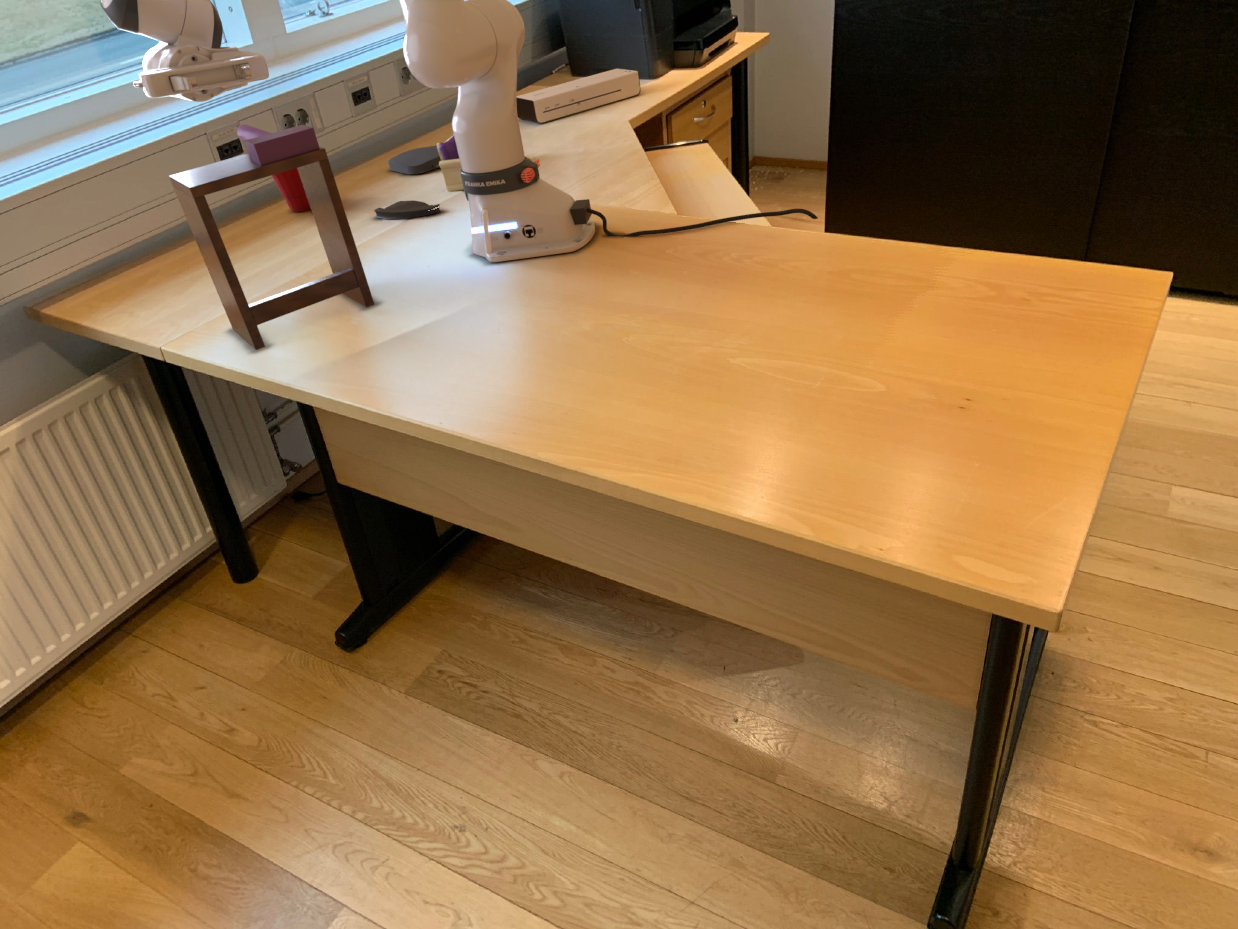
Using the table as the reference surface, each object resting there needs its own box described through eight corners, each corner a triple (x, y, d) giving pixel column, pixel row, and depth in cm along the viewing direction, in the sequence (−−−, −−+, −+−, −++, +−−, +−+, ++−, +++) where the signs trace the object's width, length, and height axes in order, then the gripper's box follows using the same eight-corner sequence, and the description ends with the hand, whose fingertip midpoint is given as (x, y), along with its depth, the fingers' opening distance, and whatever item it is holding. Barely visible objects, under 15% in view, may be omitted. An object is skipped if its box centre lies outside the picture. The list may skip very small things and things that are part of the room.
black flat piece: (420, 222, 179) (418, 214, 178) (374, 218, 186) (372, 210, 185) (448, 208, 184) (446, 200, 183) (402, 204, 191) (400, 197, 190)
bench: (346, 287, 153) (297, 139, 139) (374, 304, 145) (325, 148, 131) (233, 329, 144) (168, 175, 131) (256, 350, 136) (189, 187, 122)
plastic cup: (269, 215, 199) (249, 161, 193) (303, 199, 207) (285, 146, 200) (303, 217, 194) (284, 161, 188) (337, 200, 202) (320, 146, 195)
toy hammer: (220, 148, 142) (213, 129, 140) (274, 133, 146) (268, 114, 144) (261, 165, 127) (253, 144, 126) (319, 148, 131) (313, 127, 130)
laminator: (537, 125, 236) (532, 100, 233) (515, 120, 245) (511, 96, 242) (641, 94, 249) (638, 70, 246) (617, 90, 259) (614, 67, 255)
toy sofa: (482, 189, 192) (471, 141, 187) (445, 192, 194) (433, 144, 189) (510, 161, 209) (501, 115, 203) (476, 164, 211) (466, 119, 205)
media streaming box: (384, 170, 219) (381, 158, 217) (434, 153, 226) (431, 141, 224) (415, 177, 209) (411, 164, 207) (466, 159, 216) (463, 146, 215)
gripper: (122, 63, 146) (148, 67, 137) (243, 44, 157) (274, 47, 148) (137, 104, 150) (163, 110, 140) (254, 83, 161) (285, 87, 151)
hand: (221, 78), depth 144 cm, fingers open, 8 cm apart
